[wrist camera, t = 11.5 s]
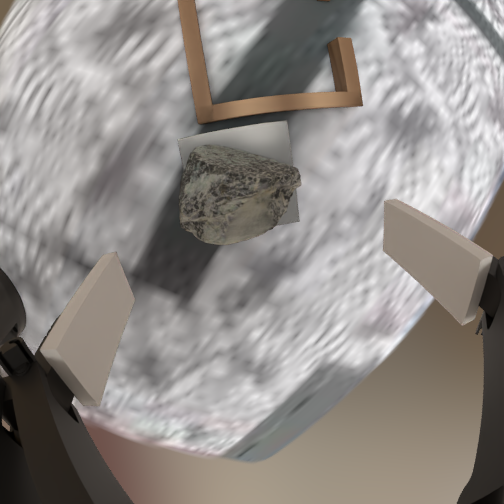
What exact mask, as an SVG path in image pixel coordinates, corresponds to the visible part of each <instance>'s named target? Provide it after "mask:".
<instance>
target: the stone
mask: <svg viewBox="0 0 504 504" xmlns="http://www.w3.org/2000/svg"><path fill="white" fill-rule="evenodd" d="M299 186H301V180H300V174H299V171H298V169H297V168H295V167H292V166H290V165H288V164H284V163H279V162H277V161H276V160H274V159H268V158H264V157H262V156H260V155H255V154H251V153H248V152H245V151H241V150H238V149H234V148H230V147H224V146H218V145H204V146H199V147H196V148H195V149H194V150H193V151H192V152H191V153H190V155H189V158H188V160H187V164H186V168H185V170H184V172H183V175H182V178H181V186H180V194H179V209H180V221H181V222H180V226H181V228H184V229H185V230H186V231H189V232H193V234H194V236H195V237H197V238H198V239H199V240H201V241H204V242H206V243H211V244H217V245H229V244H232V243H238V242H240V241H245V240H248V239H251V238H254V237H257V236H259V235H262V234H264V233H265V232H266V231H268V230H271V229H273V228H274V227H275V226H276V225H277V223H278V221H279V220H280V219H281V217H282V216H283V214H284V213H286V212H287V208H288V205H289V201H290V198H291V197H292V196H293V192H294V190H295V189H296V188H297V187H299Z"/></svg>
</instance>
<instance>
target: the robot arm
mask: <svg viewBox="0 0 504 504" xmlns="http://www.w3.org/2000/svg"><path fill="white" fill-rule="evenodd" d="M383 251H384V252H385V253H386V254H387V255H389V256H390V257H391V258H392V259H393V260H394V261H395V262H397V263H398V264H399V265H400V266H401V267H402V268H403V269H404V270H405V271H407V272H408V273H409V274H410V275H411V276H412V277H413V278H414V279H415V280H416V281H417V282H419V283H420V284H421V285H422V286H423V287H424V288H425V289H426V290H427V291H428V292H429V293H430V294H431V295H432V296H433V297H434V298H435V299H436V300H437V301H438V302H439V303H440V304H441V305H443V307H444V308H445V309H446V310H447V311H449V313H450V314H451V315H452V316H453V317H454V318H455V319H456V320H457V321H458V322H459V323H460V324H461V325H464V324H466V323H468V322H470V321H472V320H474V319H475V316H476V313H477V310H478V307H479V306H480V307H481V308H482V309H483V310H484V311H483V314H482V317H481V320H480V322H479V325H478V327H477V330H476V334H477V335H478V333H479V330H480V329H481V328H482V333H481V335H483V349H484V392H483V408H482V419H481V428H480V435H479V442H478V448H477V454H476V459H475V464H474V469H473V473H472V476H471V478H470V480H469V482H468V483H467V485H466V486H465V488H464V489H463V491H462V493H461V495H460V497H459V499H458V502H457V504H504V256H503V257H501V258H500V259H499V260H498V259H496V258H495V257H494V256H493V255H491V254H490V253H489V252H487V251H486V250H484V249H482V248H481V247H480V246H478V245H476V244H475V243H473V242H472V241H470V240H469V239H467V238H465V237H464V236H462V235H461V234H459V233H457V232H456V231H454V230H452V229H451V228H449V227H447V226H445V225H444V224H442V223H440V222H438V221H437V220H435V219H433V218H431V217H430V216H428V215H426V214H424V213H422V212H420V211H419V210H417V209H415V208H413V207H411V206H409V205H407V204H405V203H403V202H401V201H399V200H397V199H393V200H386V201H384V239H383ZM134 302H135V298H134V296H133V293H132V291H131V289H130V286H129V284H128V281H127V279H126V276H125V274H124V271H123V268H122V266H121V263H120V260H119V258H118V255H117V252H113V253H109V254H105V255H103V256H102V257H101V258H100V260H99V261H98V262H97V264H96V265H95V266H94V268H93V269H92V270H91V272H90V273H89V274H88V276H87V277H86V279H85V280H84V281H83V283H82V284H81V286H80V287H79V288H78V290H77V291H76V293H75V294H74V296H73V297H72V299H71V300H70V302H69V303H68V305H67V306H66V308H65V309H64V311H63V312H62V314H61V315H60V316H59V317H58V318H57V319H56V320H55V322H54V323H53V325H52V326H51V329H50V330H49V331H48V333H47V336H45V338H44V339H43V341H42V343H41V344H40V346H39V348H38V350H37V351H36V353H35V355H33V354H32V352H31V351H30V349H29V348H28V346H27V345H26V343H25V342H24V340H23V339H22V338H21V337H19V335H20V334H21V332H22V331H23V329H24V327H25V323H26V317H25V311H24V307H23V304H22V302H21V299H20V297H19V295H18V293H17V291H16V289H15V288H14V286H13V285H12V283H11V282H10V280H9V279H8V278H7V276H6V275H5V274H4V273H3V272H2V271H1V270H0V365H1V366H2V368H3V369H4V370H5V371H6V373H7V374H8V375H9V376H7V377H4V378H2V376H1V375H0V504H134V503H133V502H132V500H130V498H129V496H128V495H127V494H126V492H125V491H124V490H123V488H122V487H121V485H120V484H119V483H118V481H117V480H116V478H115V477H114V475H113V474H112V472H111V470H110V469H109V467H108V466H107V464H106V463H105V461H104V459H103V458H102V456H101V454H100V453H99V451H98V449H97V447H96V446H95V444H94V442H93V440H92V438H91V437H90V435H89V433H88V431H87V429H86V427H85V425H84V423H83V421H82V419H81V417H80V415H79V413H78V411H77V409H76V408H75V406H74V405H73V404H72V400H73V397H74V396H75V397H76V398H77V399H78V400H79V402H80V403H81V404H82V405H83V406H100V404H101V400H102V397H103V393H104V390H105V386H106V383H107V380H108V376H109V373H110V370H111V367H112V364H113V361H114V358H115V355H116V352H117V349H118V346H119V343H120V340H121V337H122V334H123V331H124V329H125V326H126V323H127V321H128V318H129V315H130V313H131V310H132V307H133V305H134ZM2 419H3V420H4V421H5V422H6V423H7V424H8V425H9V426H10V432H9V431H8V430H7V429H6V428H4V427H3V426H2Z"/></svg>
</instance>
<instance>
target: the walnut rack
mask: <svg viewBox="0 0 504 504" xmlns="http://www.w3.org/2000/svg"><path fill="white" fill-rule="evenodd" d="M317 1H330V0H317ZM178 6H179V12H180V19H181V26H182V32H183V39H184V45H185V51H186V58H187V64H188V70H189V75H190V81H191V87H192V93H193V98H194V104H195V110H196V115H197V120H198V124H206V123H211V122H216V121H221V120H227V119H232V118H238V117H245V116H251V115H258V114H266V113H274V112H283V111H292V110H304V109H318V108H337V107H357V106H363V102H362V95H361V88H360V82H359V76H358V70H357V65H356V59H355V54H354V49H353V45H352V40H351V38H342V37H337V38H336V39H334V40H333V41H331V42H330V43H328V44H327V46H328V51H329V56H330V61H331V66H332V72H333V77H334V83H335V90H336V92H317V93H300V94H288V95H277V96H268V97H260V98H252V99H245V100H238V101H232V102H226V103H221V104H215V105H212V99H211V94H210V88H209V82H208V77H207V71H206V65H205V59H204V53H203V48H202V42H201V36H200V30H199V24H198V18H197V12H196V6H195V0H178Z"/></svg>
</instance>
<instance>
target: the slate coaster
mask: <svg viewBox="0 0 504 504" xmlns="http://www.w3.org/2000/svg"><path fill="white" fill-rule="evenodd" d="M177 140H178V145H179V150H180V155H181V159H182V164H183V169H184V170H185V168H186V164H187V160H188V158H189V155H190V153H191V152H192V151H193V150H194V149H195V148H196V147H199V146H204V145H218V146H224V147H230V148H234V149H238V150H241V151H245V152H248V153H251V154H255V155H260V156H262V157H264V158H268V159H274V160H276V161H277V162H279V163H284V164H288V165H290V166H292V167H293V161H292V153H291V146H290V139H289V132H288V125H287V120H286V121H278V122H270V123H262V124H255V125H249V126H242V127H236V128H230V129H225V130H219V131H214V132H209V133H204V134H200V135H195V136H190V137H186V138H182V139H177ZM294 222H299V212H298V202H297V193H296V189H295V190H294V192H293V196H292V197H291V198H290V201H289V205H288V208H287V212H286V213H284V214H283V216H282V217H281V219H280V220H279V221H278V223H277V225H282V224H288V223H294ZM277 225H276V226H277Z"/></svg>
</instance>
